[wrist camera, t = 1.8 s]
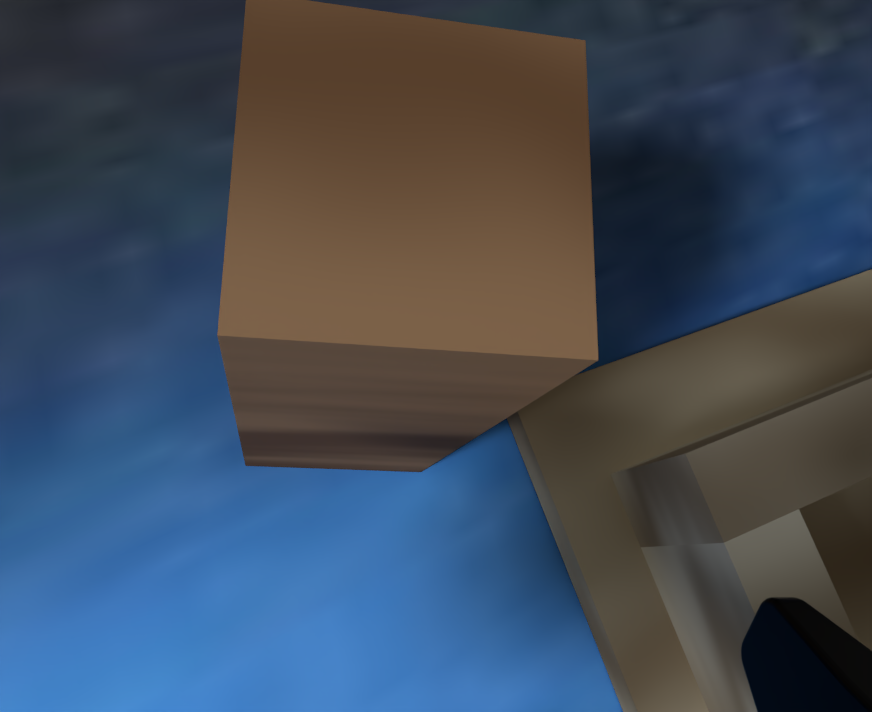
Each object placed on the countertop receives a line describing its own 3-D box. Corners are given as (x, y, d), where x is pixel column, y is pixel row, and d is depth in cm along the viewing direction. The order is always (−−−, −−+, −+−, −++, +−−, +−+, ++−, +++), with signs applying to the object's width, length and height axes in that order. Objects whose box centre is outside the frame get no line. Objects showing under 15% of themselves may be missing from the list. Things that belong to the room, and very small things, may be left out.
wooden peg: (421, 471, 21) (598, 360, 10) (245, 465, 20) (217, 335, 9) (423, 309, 22) (585, 40, 11) (257, 296, 22) (246, -9, 10)
